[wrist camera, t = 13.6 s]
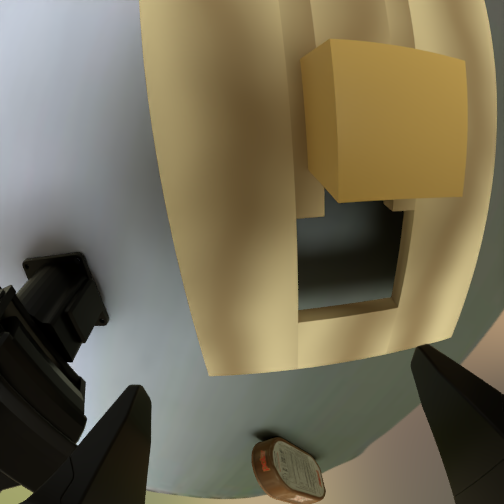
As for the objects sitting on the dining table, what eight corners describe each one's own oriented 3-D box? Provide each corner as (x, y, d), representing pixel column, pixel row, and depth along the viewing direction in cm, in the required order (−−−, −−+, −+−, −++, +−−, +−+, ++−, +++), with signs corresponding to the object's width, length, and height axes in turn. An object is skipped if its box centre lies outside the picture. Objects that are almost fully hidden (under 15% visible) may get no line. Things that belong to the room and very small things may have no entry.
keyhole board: (215, 313, 22) (209, 376, 17) (168, -8, 12) (138, -49, 6) (415, 288, 22) (450, 337, 17) (424, 0, 12) (479, -19, 6)
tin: (248, 433, 31) (250, 495, 24) (271, 425, 30) (276, 490, 23) (304, 463, 37) (311, 509, 30) (323, 457, 37) (331, 504, 29)
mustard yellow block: (293, 154, 14) (338, 202, 8) (286, 69, 12) (329, 38, 6) (374, 152, 14) (462, 196, 8) (371, 71, 12) (465, 60, 6)
